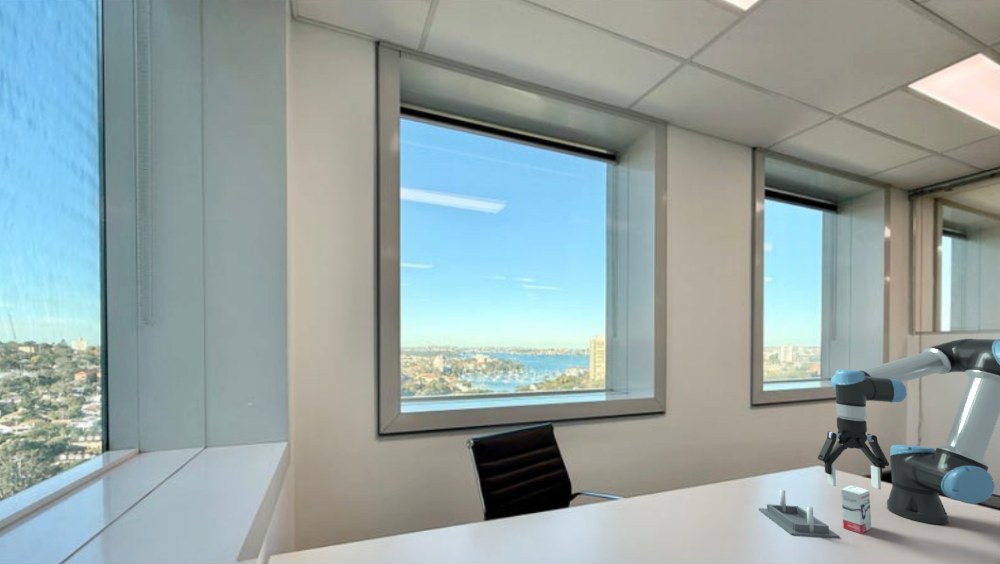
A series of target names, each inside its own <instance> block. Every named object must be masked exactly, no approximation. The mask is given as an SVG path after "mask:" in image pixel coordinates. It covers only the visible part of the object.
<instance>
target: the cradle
mask: <svg viewBox="0 0 1000 564" xmlns="http://www.w3.org/2000/svg"><path fill="white" fill-rule="evenodd" d="M786 503H787V500H786V490H785V489H780V488H779V504H771V503H769V504H768V503H767V504H766V508H761V507H760V508H759V507H758V511H759V512H761V513H762V514H763V515H765V516H766V517H767V518H768V519H769V520H771V521H772V522H773V523H774V524H776V525H778V526H779V528H781V529H783V530H784V531H786V533H787V534H789V535H790V536H799V537H801V536H802V537H815V538H830V539H831V538H833V539H841V537H840V536H841V535H839V534H837V533H835V532H834V531H832V529H830V527H829V525H827V524H826V523H824V522H823V521H822V520H820V519H818V518H817V517H815V516H814V508H813V506H806V510H804V509H803V508H801V507H799V506H798V505H789V504H788V505H786Z"/></svg>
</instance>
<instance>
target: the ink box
mask: <svg viewBox="0 0 1000 564" xmlns="http://www.w3.org/2000/svg"><path fill="white" fill-rule="evenodd" d="M870 496H871V495H870V490H868V489H865V488H862V487H860V486H855V485H847V486H846V487H843V488H842V489H841V510H842V527H843V529H845V530H848V531H852V532H854V533H857V534H861V535H862V534H864V533H865V532H867V531H869V530H871V529H872V516H871V497H870Z"/></svg>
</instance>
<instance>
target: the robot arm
mask: <svg viewBox="0 0 1000 564" xmlns="http://www.w3.org/2000/svg"><path fill="white" fill-rule="evenodd" d="M949 373H964V374H966V376H967V377H968V378H969V379H968V381H967V385H966V387H965V389H964V392H963V396H962V398H961V402H960V403H959V406H958V408H957V412H956V414H955V417H954V419H953V422H952V425H951V426H950V427H951V428H950V430H949V433H948V435H947V438H946V441H945V443H944V444H943V445H941V446H937V447H936V448H933V447H929V446H923V445H922V446H921V445H913V444H912V445H911V444H893V445H891V446H890V453H889V459H890V464H889V461H888V459H887V458H886V455H885V454H884V452H883V450H882V447H881V446H880V444H879V442H878V437H877V435H875V434H871V433H867V432H868V426H867V425H868V424H867V421H866V419H867V402H868V401H872V402H886V403H901V402H903V401H904V400H905V399H906V397H907V395H908V394H907V387H906V385H905V384H904V383H905V382H908V381H912V380H916V379H920V378H923V377H926V376H930V375H933V374H938V375H945V374H949ZM830 383H831V384H830V385H831V386H832V388H833V390H834V391H835V403H836V404H835V405H836V408H835V409H836V415H837V418H836V427H837V432H832V431H827V435H826V440H825V442H824V444H823V445H822V448H821V449H820V452H819V454H818V455H817V459H818V460H819V461H822V462H823V463H824V472H825V473H826V475H827V477H826V479H827V481H826V482H827V484H828V485H831V486H833V487H837V478H836V477H837V475H836V471H837V470H836V464H834V462H836V460H837V459H838V458H839V456H841V454H842V453H843V452H844V451H845V450H847V449H857V450H858V449H859V450H861V452H862V453H863V454H864V455H865V456H866V457H867V459H868V460H869V461H870V463H872V464H873V465H870V480H871V487H872V488H874V489H877V490H882V486H881V484H882V482H881V479H882V478H883V469H885V468H886V467H888V466H889V465H890V470H891V471H890V472H891V484H892V485H891V486H892V487H891V490H890V493H889V496H888V499H887V500H886V509H887V510H888V511H890V512H891V513H893V514H895V515H898V516H900V517H903V518H906V519H909V520H913V521H917V522H920V523H921V522H922V523H926V524H930V525H931V524H932V525H945V524H946V525H947V524H948V523H949V516H948V513H947V512H946V509H945V507H944V505H943V502H942V499H941V498H940V495H942V496H945V497H947V498H949V499H952V500H954V501H957V502H962V503H965V504H970V505H971V504H972V505H975V504H979V503H980V504H981V503H983V502H985V501H987V500H989V499H990V497H992V496H993V493H994V491H995V482H994V481H993V480H994V478H993V476H992V475H991V473H989V472H988V470H989V467H990V466H989V465H988V463H987V462H986V461H985V459H984V458H985V455H986V454H987V450H988V448H989V445H990V443H991V442H990V441H991V439H992V437H993V434H994V431H995V428H996V425H997V423H998V420H999V417H1000V338H998V339H991V338H990V339H988V338H981V339H980V338H961V339H955V340H951V341H948V342H944V343H939V344H937V345H934V346H931V347H927V348H924V349H923V351H922V352H919V353H916V354H914V355H910V356H906V357H903V358H899V359H895V360H893V361H888V362H886V363H882V364H879V365H874V366H871V367H868V368H864V369H861V370H853V369H851V370H850V369H838V370H836V371H835V374H833V376H832V377H831V380H830ZM866 433H867V434H866ZM866 442H867V443H868V444H869V446H870V447H869V446H868V444H867V443H866ZM870 448H871V449H870Z"/></svg>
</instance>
